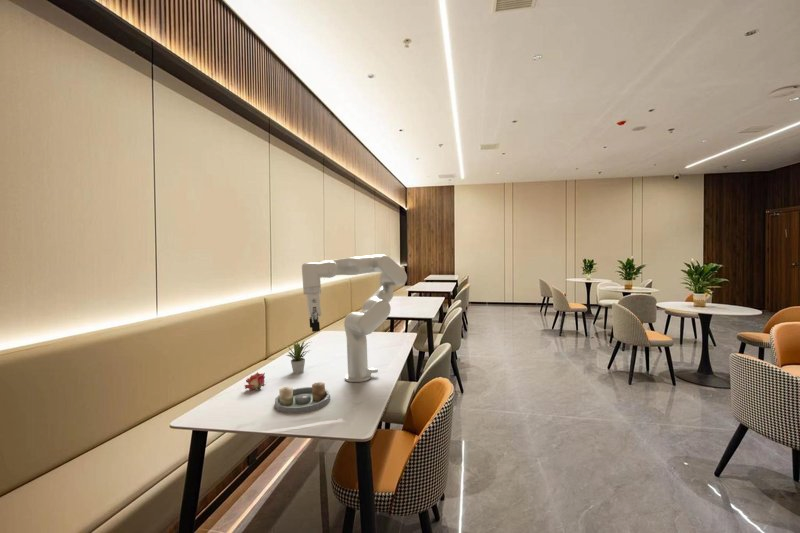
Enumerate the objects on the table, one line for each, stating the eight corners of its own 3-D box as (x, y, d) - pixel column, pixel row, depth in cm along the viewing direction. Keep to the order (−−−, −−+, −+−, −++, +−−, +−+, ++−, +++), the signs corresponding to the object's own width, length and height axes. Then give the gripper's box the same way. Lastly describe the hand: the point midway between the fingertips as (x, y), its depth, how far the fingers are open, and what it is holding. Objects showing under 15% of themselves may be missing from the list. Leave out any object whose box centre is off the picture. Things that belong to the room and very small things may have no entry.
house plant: (320, 369, 186) (319, 338, 185) (300, 378, 174) (298, 344, 174) (301, 366, 193) (300, 336, 193) (280, 373, 182) (279, 341, 181)
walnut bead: (324, 396, 147) (324, 381, 147) (325, 400, 143) (325, 385, 142) (312, 397, 146) (311, 383, 146) (313, 402, 141) (312, 387, 141)
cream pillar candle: (293, 400, 144) (292, 385, 144) (293, 405, 139) (292, 390, 139) (280, 402, 142) (279, 387, 142) (279, 407, 138) (279, 392, 137)
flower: (274, 384, 161) (267, 368, 164) (260, 387, 153) (253, 370, 155) (258, 395, 163) (252, 379, 166) (243, 399, 155) (237, 382, 157)
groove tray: (327, 391, 156) (327, 384, 156) (332, 410, 135) (332, 402, 135) (276, 398, 150) (276, 391, 150) (273, 419, 130) (273, 411, 129)
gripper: (323, 291, 150) (326, 331, 151) (318, 288, 166) (321, 324, 167) (305, 293, 148) (307, 334, 148) (301, 289, 164) (304, 326, 165)
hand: (314, 329), depth 158 cm, fingers open, 9 cm apart
